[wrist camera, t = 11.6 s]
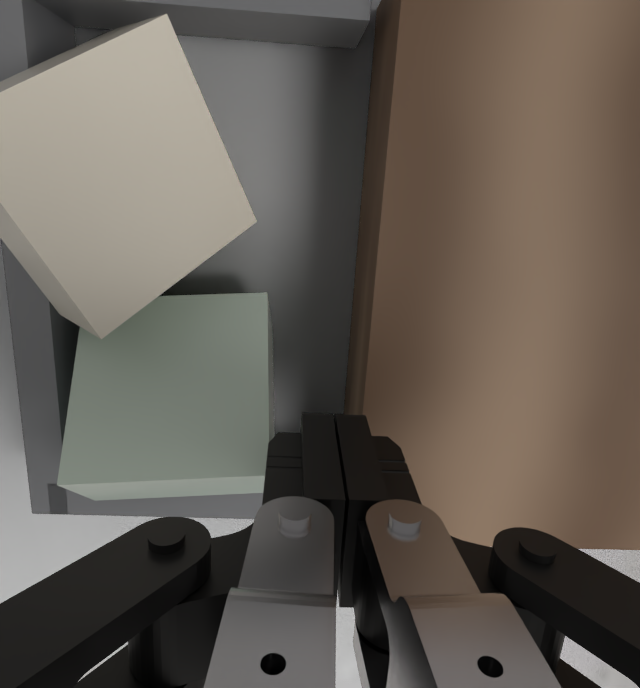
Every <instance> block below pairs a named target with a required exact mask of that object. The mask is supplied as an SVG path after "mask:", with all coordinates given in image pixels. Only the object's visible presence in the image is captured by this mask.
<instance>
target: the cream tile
mask: <svg viewBox="0 0 640 688" xmlns="http://www.w3.org/2000/svg"><path fill="white" fill-rule="evenodd" d="M256 222H257V220H256V218H255V216H254V213H253V211H252V209H251V206H250V204H249V202H248V199H247V197H246V195H245V193H244V190H243V188H242V186H241V183H240V181H239V179H238V176H237V174H236V172H235V169H234V167H233V165H232V163H231V160H230V158H229V156H228V153H227V151H226V149H225V146H224V144H223V142H222V140H221V137H220V135H219V133H218V130H217V128H216V126H215V123H214V121H213V119H212V117H211V114H210V112H209V110H208V107H207V105H206V103H205V100H204V98H203V96H202V93H201V91H200V89H199V87H198V84H197V82H196V80H195V77H194V75H193V73H192V70H191V68H190V66H189V64H188V61H187V59H186V57H185V54H184V52H183V50H182V47H181V45H180V43H179V40H178V38H177V36H176V34H175V31H174V29H173V27H172V24H171V22H170V20H169V17H168V15H167V14H164V15H160V16H157V17H153V18H150V19H146V20H143V21H140V22H136V23H133V24H129V25H126V26H123V27H119V28H116V29H113V30H111V31H109V32H107V33H104V34H102V35H100V36H98V37H96V38H94V39H91V40H89V41H87V42H85V43H83V44H81V45H78V46H76V47H74V48H72V49H70V50H68V51H66V52H63V53H61V54H59V55H57V56H55V57H53V58H50V59H48V60H46V61H44V62H42V63H40V64H37V65H35V66H33V67H31V68H29V69H27V70H25V71H22V72H20V73H18V74H16V75H14V76H12V77H9V78H7V79H5V80H3V81H1V82H0V238H1V239H2V240H3V242H4V243H5V244H6V246H7V247H8V248H9V249H10V251H11V252H12V253H13V255H14V256H15V257H16V259H17V260H18V261H19V262H20V264H21V265H22V266H23V268H24V269H25V270H26V271H27V273H28V274H29V275H30V277H31V278H32V279H33V280H34V282H35V283H36V284H37V286H38V287H39V288H40V290H41V291H42V292H43V293H44V295H45V296H46V297H47V299H48V300H49V301H50V302H51V304H52V305H53V306H54V308H55V309H56V310H57V312H58V313H59V314H60V315H61V316H63V317H65V318H66V319H68V320H70V321H72V322H73V323H75V324H77V325H78V326H80V327H82V328H83V329H85V330H87V331H88V332H90V333H92V334H93V335H95V336H97V337H98V338H100V339H102V338H104V337H105V336H106V335H108V334H109V333H110V332H112V331H113V330H114V329H116V328H117V327H118V326H120V325H121V324H122V323H124V322H125V321H126V320H128V319H129V318H130V317H132V316H133V315H134V314H136V313H137V312H138V311H140V310H141V309H142V308H144V307H145V306H146V305H147V304H149V303H150V302H151V301H153V300H154V299H155V298H157V297H158V296H159V295H161V294H162V293H163V292H165V291H166V290H167V289H169V288H170V287H171V286H173V285H174V284H175V283H177V282H178V281H179V280H181V279H182V278H183V277H185V276H186V275H187V274H189V273H190V272H191V271H193V270H194V269H195V268H197V267H198V266H199V265H201V264H202V263H203V262H204V261H206V260H207V259H208V258H210V257H211V256H212V255H214V254H215V253H216V252H218V251H219V250H220V249H222V248H223V247H224V246H226V245H227V244H228V243H230V242H231V241H232V240H234V239H235V238H236V237H238V236H239V235H240V234H242V233H243V232H244V231H246V230H247V229H248V228H250V227H251V226H252V225H254V224H255V223H256Z"/></svg>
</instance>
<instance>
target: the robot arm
mask: <svg viewBox="0 0 640 688" xmlns="http://www.w3.org/2000/svg"><path fill="white" fill-rule="evenodd" d="M337 590H338V597H339V607H354V612H355V626H354V636H353V647H354V652H355V656H356V661H357V666H358V671H359V675H360V680H361V685H362V688H601V687H600V686H598V685H597V684H595V683H594V682H593V681H591V680H590V679H588V678H587V677H585V676H584V675H583V674H581V673H580V672H578V671H577V670H576V669H574V668H573V667H571V666H570V665H569V664H567V663H566V662H564V661H563V660H561V659H560V654H561V650H562V646H563V642H564V638H565V636H567V637H568V638H570V639H571V640H573V641H574V642H576V643H577V644H579V645H580V646H582V647H583V648H585V649H586V650H588V651H589V652H591V653H592V654H594V655H595V656H597V657H598V658H600V659H601V660H603V661H604V662H606V663H607V664H608V665H610V666H611V667H613V668H614V669H616V670H617V671H619V672H620V673H622V674H623V675H625V676H626V677H628V678H629V679H630V680H632V681H633V682H634V683H635V684H636V685H637V686H638V687H639V688H640V583H639V582H637V581H635V580H633V579H631V578H630V577H628V576H626V575H624V574H622V573H620V572H619V571H617V570H615V569H613V568H611V567H609V566H608V565H606V564H604V563H602V562H600V561H598V560H597V559H595V558H593V557H591V556H589V555H588V554H586V553H584V552H582V551H580V550H578V549H577V548H575V547H573V546H571V545H569V544H567V543H566V542H564V541H562V540H560V539H558V538H556V537H554V536H552V535H550V534H548V533H545V532H543V531H539V530H536V529H531V528H523V527H514V528H508V529H505V530H502V531H500V532H499V533H498V534H497V535H496V536H495V538H494V541H493V546H492V547H488V546H484V545H480V544H475V543H471V542H467V541H464V540H460V539H458V538H455V537H452V536H450V535H449V533H448V531H447V529H446V527H445V525H444V523H443V521H442V520H441V518H440V517H439V516H438V515H437V514H436V513H435V512H434V511H432V510H431V509H429V508H428V507H426V506H424V505H422V503H421V501H420V498H419V495H418V493H417V490H416V487H415V485H414V482H413V479H412V477H411V474H410V473H409V468H408V466H407V463H405V458H404V455H403V452H402V450H401V447H399V446H398V445H397V444H396V443H395V442H394V441H392V440H391V439H390V438H389V437H388V436H372V435H371V432H370V428H369V425H368V421H367V417H366V415H349V414H335V415H334V419H333V414H322V413H302V416H301V431H300V433H280V432H278V434H277V435H276V436H275V437H274V438H273V439H272V440H271V441H270V442H269V443H268V451H267V461H266V471H265V481H264V491H263V501H262V506H261V507H260V508H259V510H258V511H257V513H256V515H255V519H254V523H252V524H251V525H250V526H248V527H247V528H245V529H243V530H241V531H239V532H236V533H233V534H230V535H226V536H221V537H216V538H211V536H210V533H209V531H208V530H207V529H206V527H205V526H204V525H202V524H201V523H199V522H197V521H195V520H192V519H189V518H184V517H164V518H158V519H154V520H151V521H148V522H146V523H143V524H141V525H139V526H138V527H136V528H134V529H132V530H130V531H129V532H127V533H125V534H123V535H122V536H120V537H118V538H116V539H114V540H113V541H111V542H109V543H107V544H106V545H104V546H102V547H100V548H98V549H97V550H95V551H93V552H91V553H90V554H88V555H86V556H84V557H82V558H81V559H79V560H77V561H75V562H74V563H72V564H70V565H68V566H66V567H65V568H63V569H61V570H59V571H58V572H56V573H54V574H52V575H51V576H49V577H47V578H45V579H43V580H42V581H40V582H38V583H36V584H35V585H33V586H31V587H29V588H27V589H26V590H24V591H22V592H20V593H19V594H17V595H15V596H13V597H11V598H10V599H8V600H6V601H4V602H3V603H1V604H0V688H335V660H336V602H337ZM126 642H128V645H127V646H125V647H124V648H123V649H121V650H120V651H119V652H117V653H116V654H115V655H113V656H112V657H111V658H109V659H108V660H107V661H105V662H104V663H103V664H101V665H100V666H99V667H97V668H96V669H95V670H93V671H92V672H91V673H89V674H88V675H87V676H85V677H84V678H83V679H81V680H80V681H79V679H80V678H81V677H82V676H83V675H84V674H85V673H86V672H88V671H89V670H90V669H91V668H93V667H94V666H95V665H97V664H98V663H99V662H101V661H102V660H103V659H105V658H106V657H107V656H109V655H110V654H111V653H113V652H114V651H115V650H117V649H118V648H119V647H121V646H122V645H124V644H125V643H126ZM78 681H79V682H78Z"/></svg>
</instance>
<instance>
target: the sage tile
mask: <svg viewBox="0 0 640 688" xmlns="http://www.w3.org/2000/svg"><path fill="white" fill-rule="evenodd" d="M274 437H275V430H274V364H273V328H272V321H271V314H270V307H269V300H268V293H267V292H265V293H235V294H206V295H177V296H158V297H157V298H155V299H154V300H153V301H151V302H150V303H149V304H147V305H146V306H145V307H144V308H142V309H141V310H140V311H138V312H137V313H136V314H134V315H133V316H132V317H130V318H129V319H128V320H126V321H125V322H124V323H122V324H121V325H120V326H118V327H117V328H116V329H114V330H113V331H112V332H110V333H109V334H108V335H106V336H105V337H104V338H102V339H100V338H98V337H97V336H95V335H93V334H92V333H90V332H88V331H87V330H85V329H83V328H82V327H80V328H79V335H78V342H77V349H76V356H75V363H74V370H73V377H72V384H71V391H70V397H69V404H68V411H67V418H66V425H65V432H64V439H63V446H62V453H61V460H60V467H59V473H58V480H57V485H58V486H60V487H63V488H65V489H68V490H70V491H73V492H75V493H77V494H80V495H82V496H85V497H87V498H90V499H92V500H95V501H98V500H119V499H141V498H162V497H183V496H204V495H226V494H247V493H263V491H264V481H265V471H266V461H267V451H268V443H269V442H270V441H271V440H272V439H273V438H274Z"/></svg>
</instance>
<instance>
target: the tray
mask: <svg viewBox="0 0 640 688" xmlns="http://www.w3.org/2000/svg"><path fill="white" fill-rule="evenodd" d="M370 11H371V0H0V82H1V81H3V80H5V79H7V78H9V77H12V76H14V75H16V74H18V73H20V72H22V71H25V70H27V69H29V68H31V67H33V66H35V65H37V64H40V63H42V62H44V61H46V60H48V59H50V58H53V57H55V56H57V55H59V54H61V53H63V52H66V51H68V50H70V49H72V48H74V47H76V39H75V27H86V28H98V29H111V30H113V29H116V28H119V27H123V26H126V25H129V24H133V23H136V22H140V21H143V20H146V19H150V18H153V17H157V16H160V15H164V14H167V15H168V17H169V20H170V22H171V24H172V27H173V29H174V31H175V34H176V35H187V36H200V37H212V38H225V39H238V40H250V41H263V42H275V43H288V44H301V45H313V46H326V47H339V48H351V49H355V48H356V46H357V44H358V43H359V41H360V39H361V37H362V35H363V33H364V31H365V29H366V27H367V25H368V23H369V21H370ZM1 244H2V252H3V261H4V270H5V279H6V288H7V296H8V305H9V314H10V323H11V332H12V340H13V349H14V358H15V367H16V376H17V384H18V393H19V402H20V411H21V420H22V428H23V437H24V446H25V455H26V464H27V472H28V481H29V490H30V499H31V507H32V513H33V514H73V515H113V516H154V517H194V518H234V519H255V515H256V513H257V511H258V510H259V508H260V507H261V506H262V501H263V493H247V494H226V495H204V496H183V497H162V498H141V499H119V500H98V501H95V500H92V499H90V498H87V497H85V496H82V495H80V494H77V493H75V492H73V491H70V490H68V489H65V488H63V487H60V486H58V485H57V480H58V473H59V467H60V460H61V453H62V446H63V439H64V432H65V425H66V418H67V411H68V404H69V397H70V391H71V384H72V377H73V370H74V363H75V356H76V349H77V342H78V335H79V328H80V326H78V325H77V324H75V323H73V322H72V321H70V320H68V319H66V318H65V317H63V316H61V315H60V314H59V313H58V312H57V310H56V309H55V308H54V306H53V305H52V304H51V302H50V301H49V300H48V299H47V297H46V296H45V295H44V293H43V292H42V291H41V290H40V288H39V287H38V286H37V284H36V283H35V282H34V280H33V279H32V278H31V277H30V275H29V274H28V273H27V271H26V270H25V269H24V268H23V266H22V265H21V264H20V262H19V261H18V260H17V259H16V257H15V256H14V255H13V253H12V252H11V251H10V249H9V248H8V247H7V246H6V244H5V243H4V242H3V240H2V239H1Z"/></svg>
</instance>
